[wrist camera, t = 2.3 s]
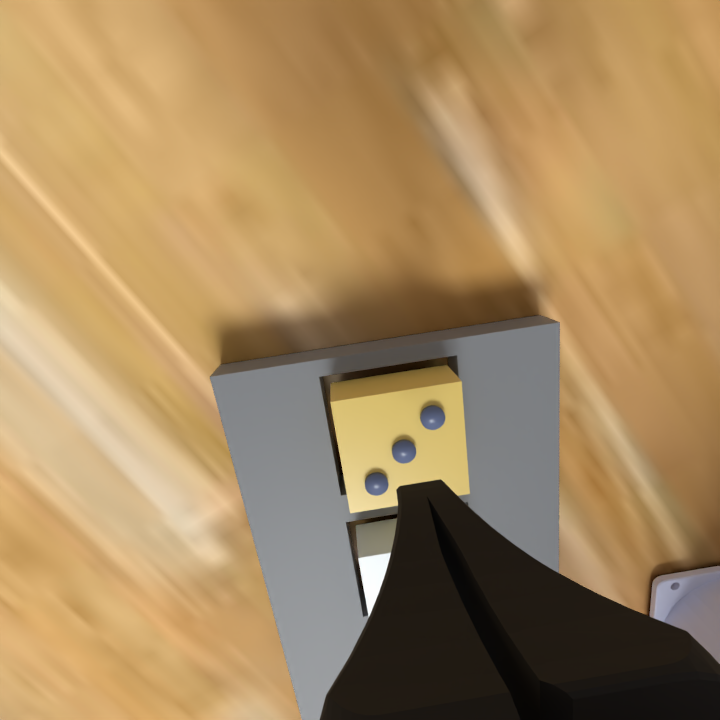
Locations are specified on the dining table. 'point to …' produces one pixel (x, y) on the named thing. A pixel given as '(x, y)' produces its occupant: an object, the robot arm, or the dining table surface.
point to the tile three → (399, 434)
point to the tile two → (374, 555)
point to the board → (332, 514)
